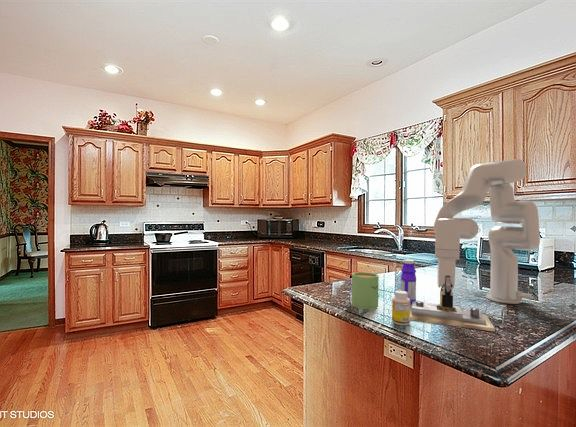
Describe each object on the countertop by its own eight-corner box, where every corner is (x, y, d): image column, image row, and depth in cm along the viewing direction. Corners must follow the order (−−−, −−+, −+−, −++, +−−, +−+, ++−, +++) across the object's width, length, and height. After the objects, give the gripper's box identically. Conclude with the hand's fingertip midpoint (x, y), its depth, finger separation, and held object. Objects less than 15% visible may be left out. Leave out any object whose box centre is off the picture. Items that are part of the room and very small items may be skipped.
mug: (374, 311, 113) (375, 278, 113) (347, 306, 119) (348, 275, 119) (383, 303, 124) (384, 273, 124) (358, 298, 130) (359, 270, 130)
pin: (452, 314, 107) (452, 291, 108) (453, 317, 104) (453, 294, 104) (439, 312, 109) (439, 290, 109) (440, 316, 105) (440, 292, 105)
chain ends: (481, 316, 106) (481, 306, 106) (485, 324, 98) (486, 314, 98) (412, 307, 115) (412, 298, 115) (411, 314, 107) (411, 304, 107)
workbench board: (486, 317, 107) (486, 315, 107) (494, 331, 95) (494, 328, 95) (407, 307, 118) (407, 305, 118) (405, 318, 105) (405, 315, 105)
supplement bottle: (395, 318, 105) (396, 289, 105) (412, 322, 101) (412, 291, 101) (389, 323, 101) (389, 291, 101) (406, 327, 97) (406, 295, 97)
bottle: (417, 305, 121) (418, 261, 121) (402, 304, 122) (402, 260, 122) (413, 300, 128) (414, 258, 128) (399, 299, 130) (400, 258, 130)
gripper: (434, 250, 116) (433, 296, 116) (435, 256, 100) (435, 308, 100) (457, 252, 113) (456, 298, 113) (462, 257, 97) (461, 312, 97)
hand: (446, 303), depth 106 cm, fingers open, 9 cm apart
